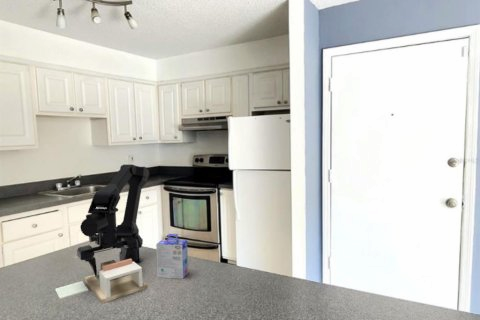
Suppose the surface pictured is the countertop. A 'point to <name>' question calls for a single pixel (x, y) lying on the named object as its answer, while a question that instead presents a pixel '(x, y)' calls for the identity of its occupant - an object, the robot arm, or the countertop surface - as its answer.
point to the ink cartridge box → (172, 258)
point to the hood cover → (119, 274)
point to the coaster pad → (71, 290)
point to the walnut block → (107, 264)
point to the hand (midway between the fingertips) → (109, 271)
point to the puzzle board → (113, 287)
